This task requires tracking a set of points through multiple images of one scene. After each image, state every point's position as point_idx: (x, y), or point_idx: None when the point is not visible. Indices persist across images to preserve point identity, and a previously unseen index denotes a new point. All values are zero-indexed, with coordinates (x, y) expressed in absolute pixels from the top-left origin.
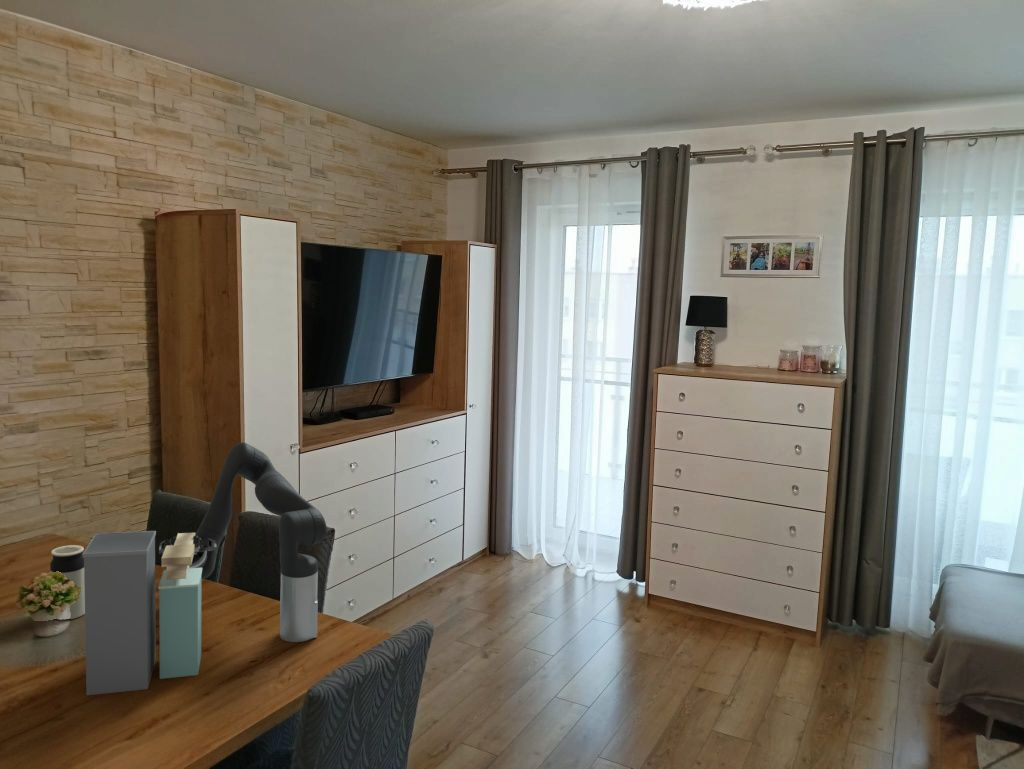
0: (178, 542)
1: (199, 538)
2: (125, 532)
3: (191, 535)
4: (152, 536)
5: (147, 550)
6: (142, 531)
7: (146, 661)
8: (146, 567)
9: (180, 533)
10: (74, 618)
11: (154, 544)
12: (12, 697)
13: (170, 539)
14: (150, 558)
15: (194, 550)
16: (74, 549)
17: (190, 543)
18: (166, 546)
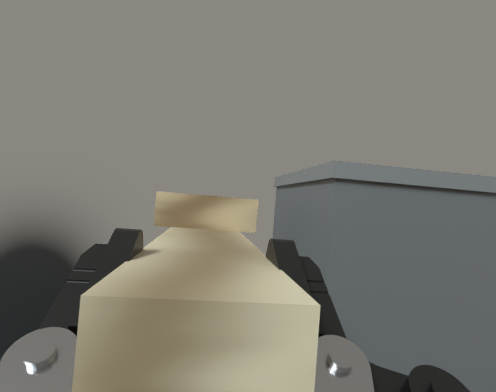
0: (237, 248)
1: (86, 258)
2: (452, 173)
3: (148, 271)
4: (310, 168)
5: (275, 178)
6: (389, 166)
7: None
8: (274, 222)
9: (284, 300)
10: None
11: (325, 221)
12: None
13: (313, 266)
14: (291, 229)
15: (154, 217)
16: None
17: (165, 240)
18: (254, 199)
